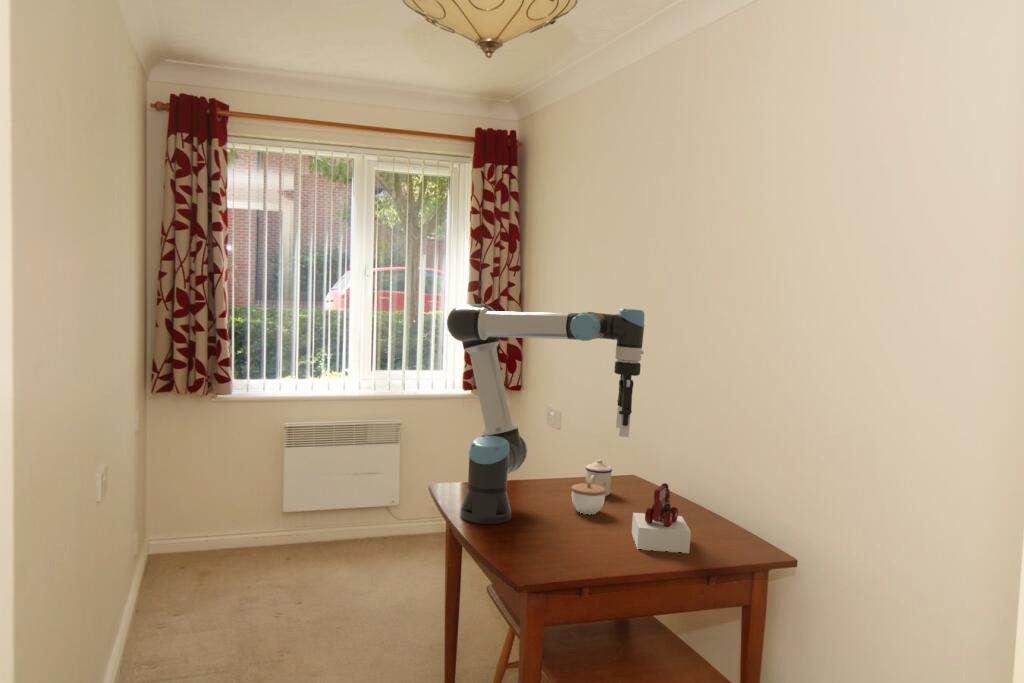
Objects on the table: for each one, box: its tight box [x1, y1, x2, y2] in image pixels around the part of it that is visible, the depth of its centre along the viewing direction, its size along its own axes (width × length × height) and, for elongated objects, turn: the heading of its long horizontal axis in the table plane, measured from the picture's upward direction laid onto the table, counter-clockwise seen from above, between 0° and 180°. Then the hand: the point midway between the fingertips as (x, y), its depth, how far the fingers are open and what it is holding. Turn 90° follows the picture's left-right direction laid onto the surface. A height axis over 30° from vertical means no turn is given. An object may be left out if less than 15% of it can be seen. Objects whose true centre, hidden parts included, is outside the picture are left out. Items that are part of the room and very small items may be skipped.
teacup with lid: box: [584, 459, 613, 497], centre depth 257 cm, size 12×9×12 cm
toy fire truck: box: [645, 482, 679, 527], centre depth 209 cm, size 7×12×10 cm, turn 152°
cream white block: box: [631, 512, 692, 554], centre depth 210 cm, size 14×14×6 cm
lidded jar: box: [571, 482, 606, 516], centre depth 235 cm, size 11×11×9 cm
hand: (621, 432), depth 223 cm, fingers open, 13 cm apart
